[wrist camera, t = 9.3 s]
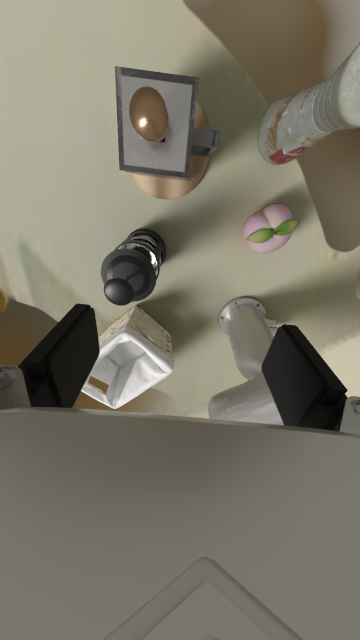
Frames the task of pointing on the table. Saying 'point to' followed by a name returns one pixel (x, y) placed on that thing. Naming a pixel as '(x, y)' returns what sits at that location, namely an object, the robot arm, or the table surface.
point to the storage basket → (130, 358)
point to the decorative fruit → (269, 228)
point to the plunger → (149, 115)
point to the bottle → (312, 114)
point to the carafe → (181, 134)
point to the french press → (133, 268)
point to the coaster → (174, 187)
